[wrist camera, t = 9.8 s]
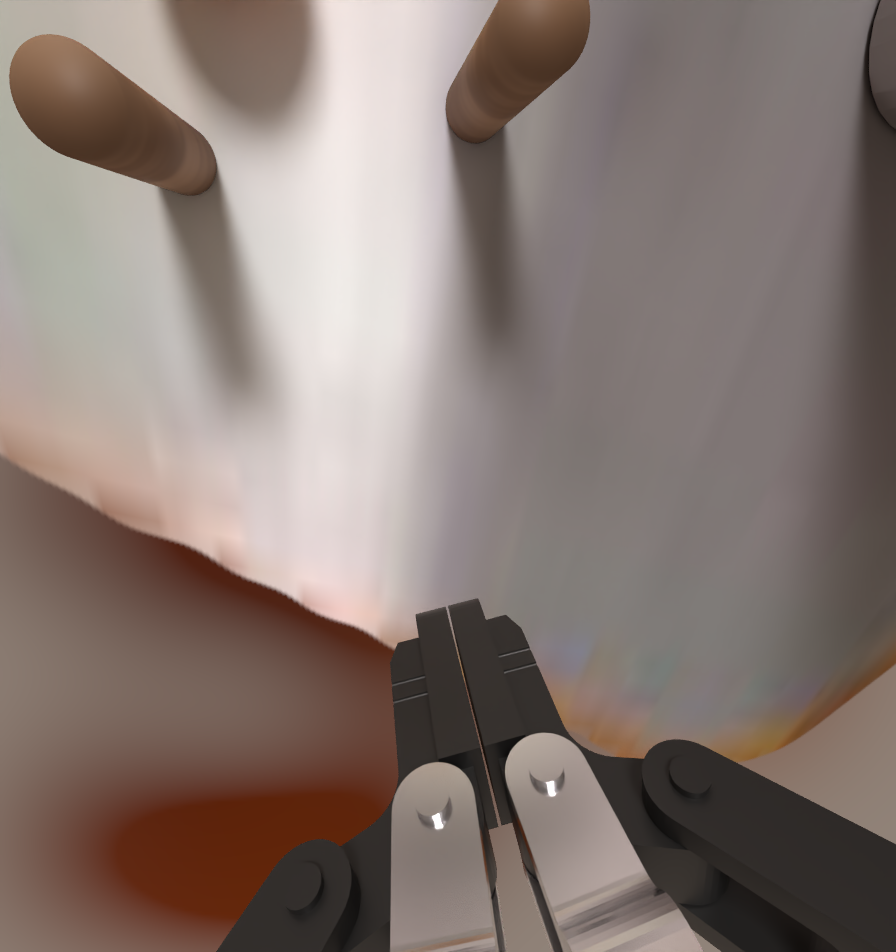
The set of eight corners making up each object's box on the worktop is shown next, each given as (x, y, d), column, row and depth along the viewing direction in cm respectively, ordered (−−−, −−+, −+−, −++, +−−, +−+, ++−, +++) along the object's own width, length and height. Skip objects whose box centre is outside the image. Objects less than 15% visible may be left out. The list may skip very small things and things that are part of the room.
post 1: (137, 128, 20) (-14, 43, 12) (202, 117, 20) (97, 26, 12) (165, 200, 21) (44, 168, 13) (225, 189, 21) (144, 150, 13)
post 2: (440, 76, 21) (493, -36, 13) (499, 66, 21) (587, -50, 13) (451, 148, 22) (505, 87, 14) (506, 138, 22) (592, 72, 14)
